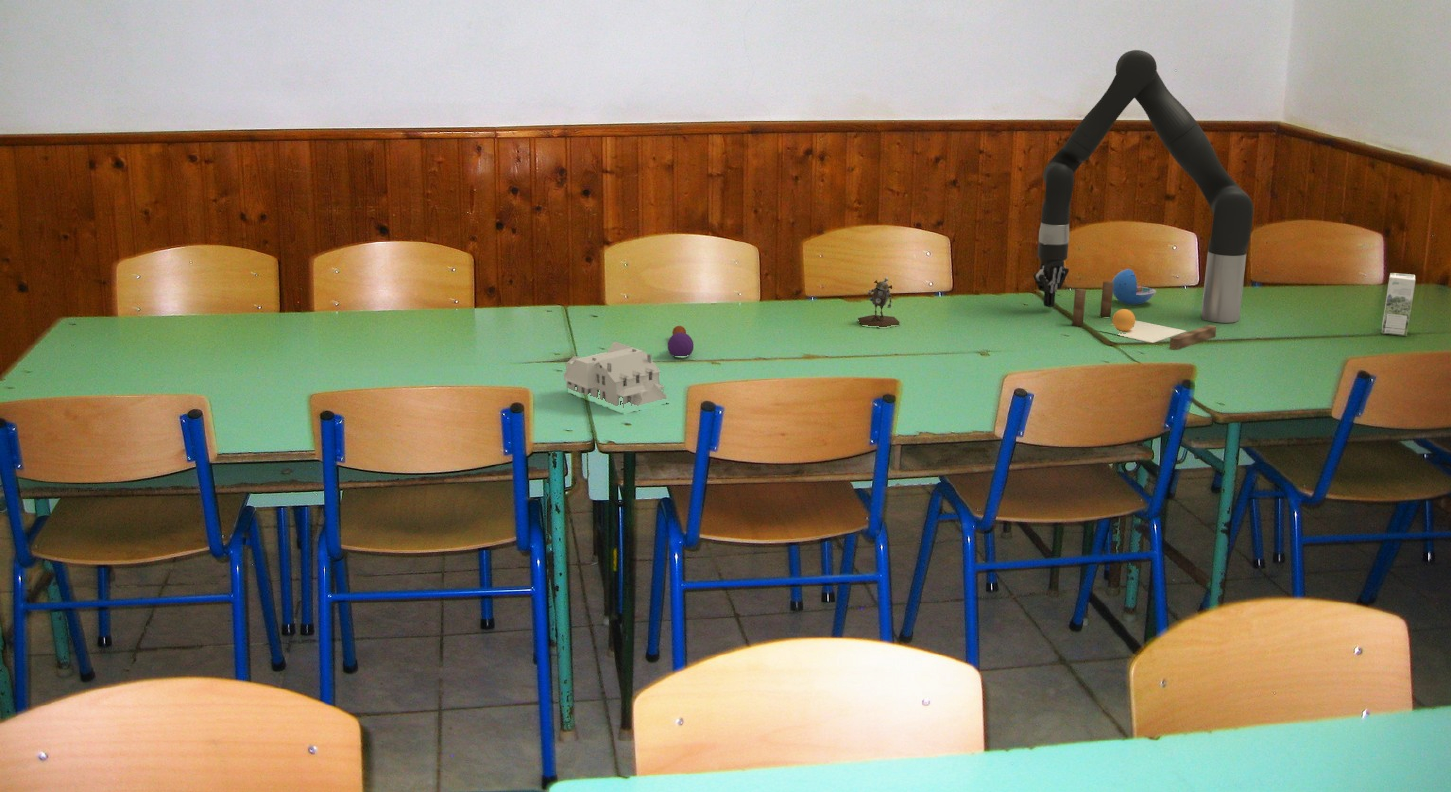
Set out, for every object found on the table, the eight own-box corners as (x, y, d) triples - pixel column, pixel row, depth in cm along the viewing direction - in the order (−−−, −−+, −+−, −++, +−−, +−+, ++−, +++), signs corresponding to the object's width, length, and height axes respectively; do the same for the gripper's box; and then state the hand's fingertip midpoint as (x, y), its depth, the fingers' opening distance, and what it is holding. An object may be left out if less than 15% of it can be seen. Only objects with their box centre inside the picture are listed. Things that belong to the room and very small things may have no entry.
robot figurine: (851, 325, 347) (852, 278, 344) (862, 317, 355) (863, 271, 352) (894, 330, 343) (896, 282, 340) (904, 321, 351) (906, 275, 348)
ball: (1141, 311, 340) (1138, 332, 342) (1125, 304, 344) (1122, 325, 346) (1125, 315, 337) (1122, 336, 339) (1109, 307, 341) (1106, 328, 344)
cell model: (1161, 307, 366) (1165, 272, 363) (1119, 309, 364) (1122, 273, 361) (1144, 299, 376) (1147, 264, 373) (1102, 300, 374) (1105, 265, 371)
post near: (1076, 323, 350) (1078, 288, 347) (1084, 325, 348) (1087, 290, 345) (1070, 324, 348) (1072, 289, 345) (1079, 326, 346) (1081, 291, 344)
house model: (616, 418, 276) (615, 371, 273) (558, 396, 291) (557, 350, 288) (689, 399, 288) (688, 354, 285) (630, 379, 303) (629, 335, 300)
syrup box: (1406, 331, 343) (1415, 273, 339) (1406, 336, 338) (1415, 278, 334) (1381, 328, 346) (1389, 271, 341) (1381, 334, 340) (1389, 276, 336)
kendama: (693, 322, 334) (696, 337, 315) (689, 346, 336) (691, 363, 316) (669, 318, 334) (670, 333, 314) (664, 342, 335) (665, 358, 316)
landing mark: (1129, 319, 353) (1129, 319, 353) (1187, 331, 342) (1187, 330, 342) (1094, 330, 343) (1094, 329, 343) (1152, 343, 332) (1152, 342, 332)
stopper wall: (1207, 334, 339) (1208, 324, 339) (1215, 336, 338) (1216, 326, 337) (1169, 348, 328) (1170, 337, 327) (1177, 349, 326) (1178, 339, 325)
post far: (1103, 315, 358) (1106, 280, 355) (1112, 316, 356) (1115, 282, 354) (1098, 316, 356) (1101, 282, 354) (1106, 318, 355) (1109, 284, 352)
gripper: (1056, 235, 363) (1051, 299, 368) (1026, 241, 354) (1021, 307, 359) (1080, 239, 357) (1075, 304, 363) (1051, 245, 349) (1046, 313, 354)
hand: (1048, 306), depth 361 cm, fingers closed
